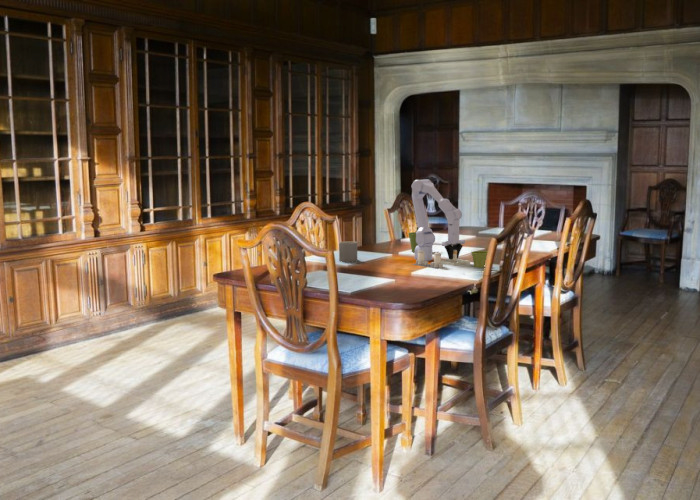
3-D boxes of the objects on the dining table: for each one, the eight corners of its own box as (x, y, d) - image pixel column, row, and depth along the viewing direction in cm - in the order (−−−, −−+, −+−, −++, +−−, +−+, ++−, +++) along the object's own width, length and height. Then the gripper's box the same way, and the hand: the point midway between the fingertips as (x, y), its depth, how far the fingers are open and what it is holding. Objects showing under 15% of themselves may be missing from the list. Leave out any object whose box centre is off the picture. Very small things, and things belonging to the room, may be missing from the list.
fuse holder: (411, 267, 369) (411, 260, 368) (421, 265, 373) (421, 259, 372) (437, 271, 353) (437, 264, 353) (447, 270, 358) (447, 263, 357)
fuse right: (432, 267, 358) (432, 253, 358) (437, 266, 361) (437, 252, 360) (437, 268, 356) (437, 254, 355) (442, 267, 358) (442, 253, 357)
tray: (436, 265, 373) (436, 260, 373) (453, 263, 380) (453, 258, 380) (453, 268, 363) (453, 263, 363) (470, 265, 370) (470, 260, 370)
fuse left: (416, 264, 368) (416, 250, 367) (421, 263, 370) (421, 250, 369) (420, 265, 365) (421, 251, 364) (426, 264, 367) (426, 250, 366)
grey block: (352, 262, 387) (352, 244, 386) (336, 261, 392) (335, 243, 390) (363, 259, 399) (362, 241, 398) (346, 258, 403) (346, 240, 402)
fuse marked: (448, 263, 372) (448, 250, 371) (453, 262, 374) (453, 249, 373) (453, 264, 369) (453, 250, 368) (458, 263, 371) (458, 250, 370)
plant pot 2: (475, 271, 354) (476, 253, 352) (467, 268, 363) (467, 251, 361) (493, 270, 356) (493, 253, 355) (484, 267, 365) (484, 250, 364)
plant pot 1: (427, 250, 430) (427, 231, 429) (427, 253, 418) (427, 234, 417) (407, 250, 431) (407, 231, 430) (407, 253, 420) (407, 234, 418)
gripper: (448, 234, 362) (448, 261, 364) (469, 232, 370) (469, 258, 372) (439, 233, 368) (439, 259, 369) (459, 231, 376) (459, 256, 378)
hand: (453, 258), depth 371 cm, fingers closed on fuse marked, 3 cm apart
